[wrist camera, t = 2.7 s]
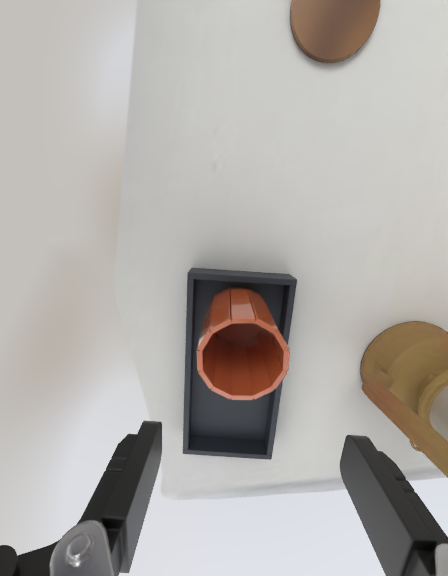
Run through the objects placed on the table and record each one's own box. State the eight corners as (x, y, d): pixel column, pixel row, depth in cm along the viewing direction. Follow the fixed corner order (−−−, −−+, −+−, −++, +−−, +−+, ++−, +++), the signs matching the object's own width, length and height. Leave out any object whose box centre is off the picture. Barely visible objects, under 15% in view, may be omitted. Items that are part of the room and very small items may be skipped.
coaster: (293, 70, 21) (295, 67, 20) (286, -35, 19) (287, -41, 19) (377, 54, 20) (380, 50, 20) (377, -55, 19) (380, -61, 18)
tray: (191, 267, 25) (187, 272, 22) (290, 274, 25) (297, 279, 23) (186, 435, 30) (182, 454, 28) (267, 440, 30) (271, 459, 28)
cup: (196, 325, 26) (181, 375, 17) (226, 274, 24) (225, 301, 16) (247, 352, 27) (257, 413, 18) (279, 304, 25) (307, 346, 17)
